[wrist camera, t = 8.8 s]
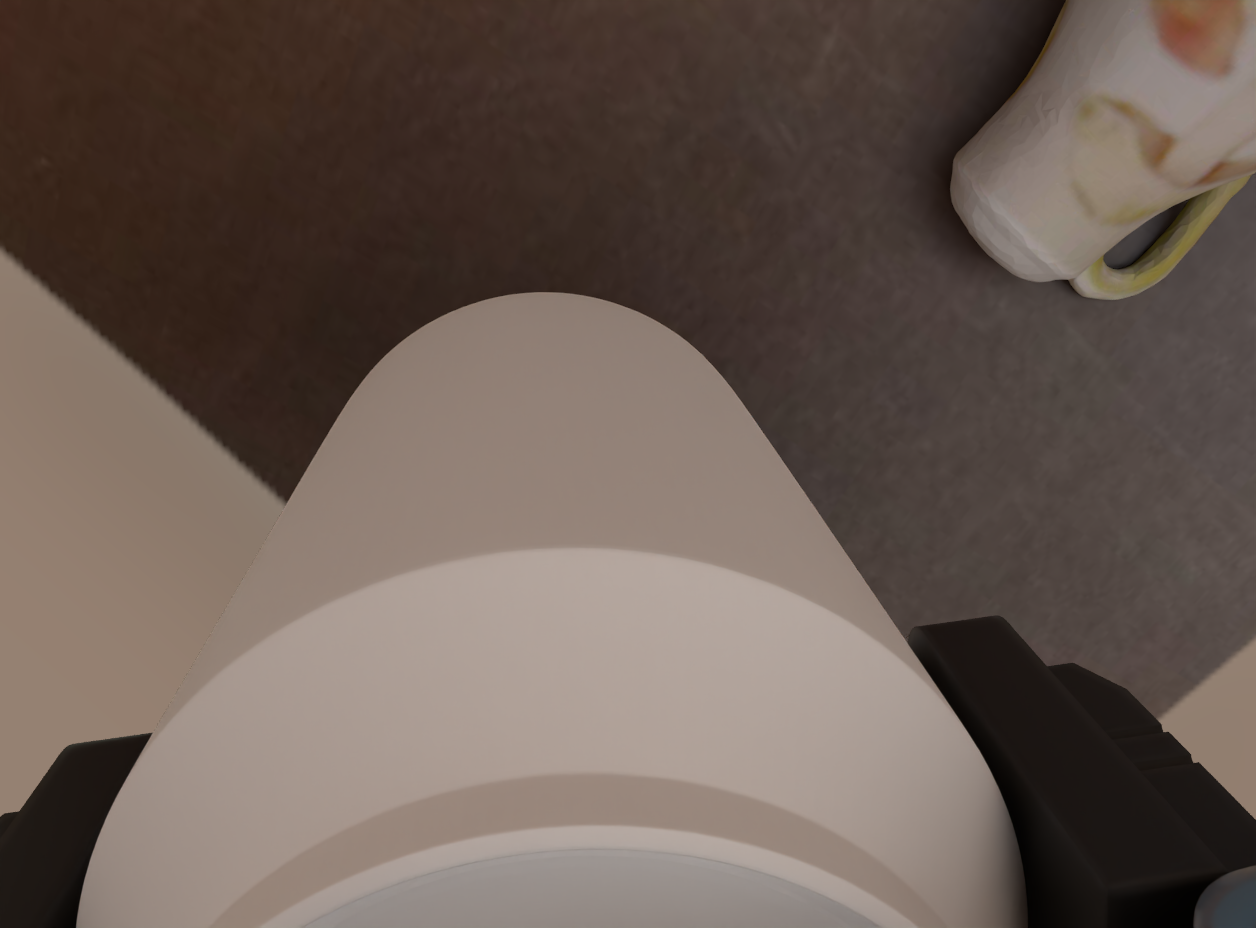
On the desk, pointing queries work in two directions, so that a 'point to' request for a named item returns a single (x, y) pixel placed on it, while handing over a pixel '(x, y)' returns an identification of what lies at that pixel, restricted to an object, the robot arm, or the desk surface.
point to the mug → (1115, 141)
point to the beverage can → (554, 676)
